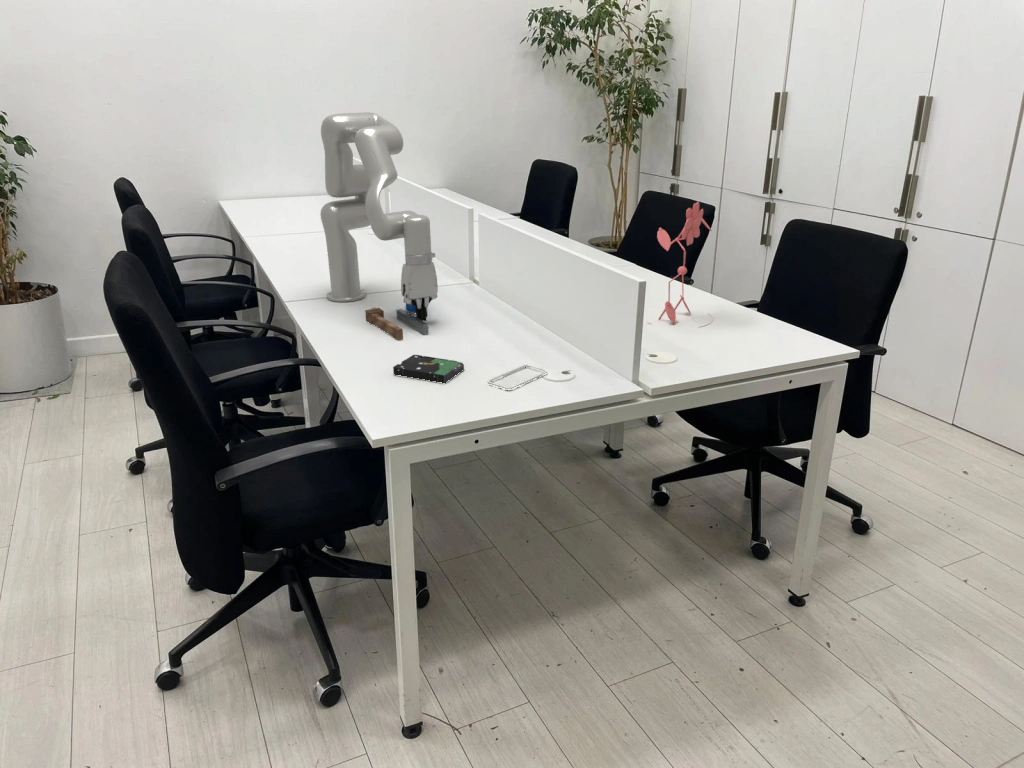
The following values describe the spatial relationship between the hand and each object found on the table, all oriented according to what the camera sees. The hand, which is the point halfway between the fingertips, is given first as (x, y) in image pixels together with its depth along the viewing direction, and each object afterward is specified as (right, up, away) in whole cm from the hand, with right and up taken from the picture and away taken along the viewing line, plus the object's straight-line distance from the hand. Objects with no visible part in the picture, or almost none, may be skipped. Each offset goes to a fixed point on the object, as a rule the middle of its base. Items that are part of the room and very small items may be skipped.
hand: (421, 319), depth 229 cm
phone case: (+28, -18, -40) cm, 52 cm away
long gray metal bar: (-3, -2, -1) cm, 4 cm away
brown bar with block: (-9, -3, -4) cm, 10 cm away
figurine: (+79, 0, +3) cm, 79 cm away
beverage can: (-3, +3, +13) cm, 14 cm away
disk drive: (+6, -17, -35) cm, 39 cm away
